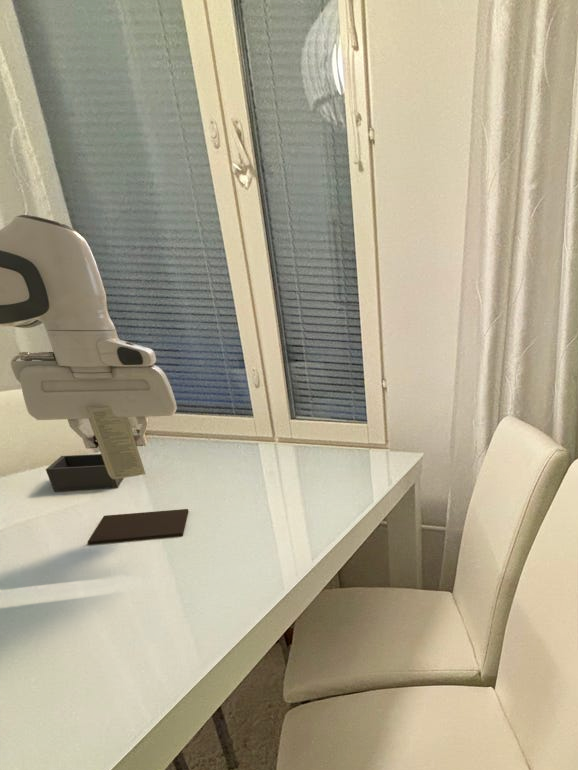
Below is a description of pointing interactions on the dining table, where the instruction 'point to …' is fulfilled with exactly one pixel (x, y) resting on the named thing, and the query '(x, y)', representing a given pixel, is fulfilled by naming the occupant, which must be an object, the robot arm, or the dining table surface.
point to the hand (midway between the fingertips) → (117, 446)
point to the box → (115, 443)
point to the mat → (139, 526)
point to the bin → (80, 473)
